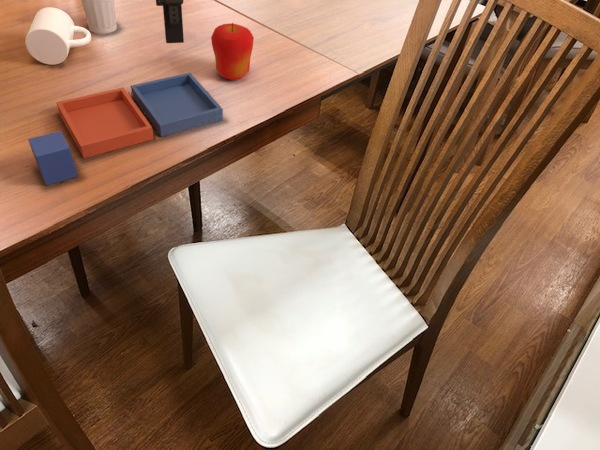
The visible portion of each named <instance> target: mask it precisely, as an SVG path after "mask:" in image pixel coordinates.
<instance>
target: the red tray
mask: <svg viewBox="0 0 600 450" xmlns="http://www.w3.org/2000/svg"><path fill="white" fill-rule="evenodd" d="M56 106H57V111H58V113H59V116H60V118H61V120H62V121H63V123H64V125H65V127H66V129H67V130H68V132H69V133H70V134H69V135H70V136H71V137H72V138H71V139H73V141H74V144H75V145H76V147H77V148H78V151H79V152H80V154H81V156H82V158H83V159H86V158H90V157H94V156H97V155H102V154H105V153H108V152H112V151H117V150H119V149H122V148H126V147H129V146H134V145H136V144H138V145H139V144H140V143H144V142H148V141H152V140H154V139H155V137H154V129H153V128H154V127H153V125H152V124H151V123H150V121H148V118H147V117H146V116H145V114H144V113H143V111H142V110H141V109H140V107H139V106H138V105H137V103H136V102H135V100H134V99H133V98H132V97H131V96H130V94H129V93H128V91H127V89H125V87H118V88H115V89H110V90H105V91H100V92H96V93H91V94H87V95H82V96H78V97H74V98H69V99H65V100H61V101H57V102H56Z"/></svg>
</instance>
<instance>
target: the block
mask: <svg viewBox="0 0 600 450" xmlns="http://www.w3.org/2000/svg"><path fill="white" fill-rule="evenodd" d="M27 141H28V144H29V146H30V149H31V151H32V154H33V157H34V160H35V163H36V166H37V169H38V170H39V173H40V175H41V177H42V179H43V181H44V184H45V186H50V185H53V184H57V183H61V182H64V181H67V180H71V179H74V178H77V177H79V175H78V171H77V168H76V164H75V161H74V157H73V154H72V151H71V148H70V147H71V146H70V145H69V143H68V142H67V140H66V138H65V136H64V134H63V132H62V131H61V130H58V131H54V132H50V133H47V134H42V135H38V136H33V137H30V138H27Z"/></svg>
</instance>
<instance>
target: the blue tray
mask: <svg viewBox="0 0 600 450" xmlns="http://www.w3.org/2000/svg"><path fill="white" fill-rule="evenodd" d="M130 90H131V96H132V97H131V98H132V99H133V101H134V102H135V104H136V105H137V106H138V108H139V109H140V110H141V112H142V113H143V115H144V116H145V117H146V119H147V120H149V121H148V122H149V123H150V124H151V126H152V127H153V128H154V129H155V130H156V132H157V133H158V135H159V136H160V137H161V138H163V137H167V136H169V135H170V136H171V135H174V134H177V133H178V134H179V133H181V132H185V131H189V130H192V129H195V128H200V127H202V126H206V125H210V124H214V123H217V122H220V121H223V119H224V114H223V113H224V112H223V111H224V109H223V108H222V106H221V105H220V104H219V103H218V102H217V100H215V99H214V97H213V96H212V95H211V94H210V93H209V92H208V91H207V90H206V89H205V87H204V86H203V85H202V84H201V82H199V80H198V79H197V78H196V77H195V76H194V75H193V74H192V73H191V72H186V73H185V72H184V73H182V74H176V75H172V76H167V77H164V78H159V79H154V80H151V81H146V82H142V83H137V84H132V85H130Z"/></svg>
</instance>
